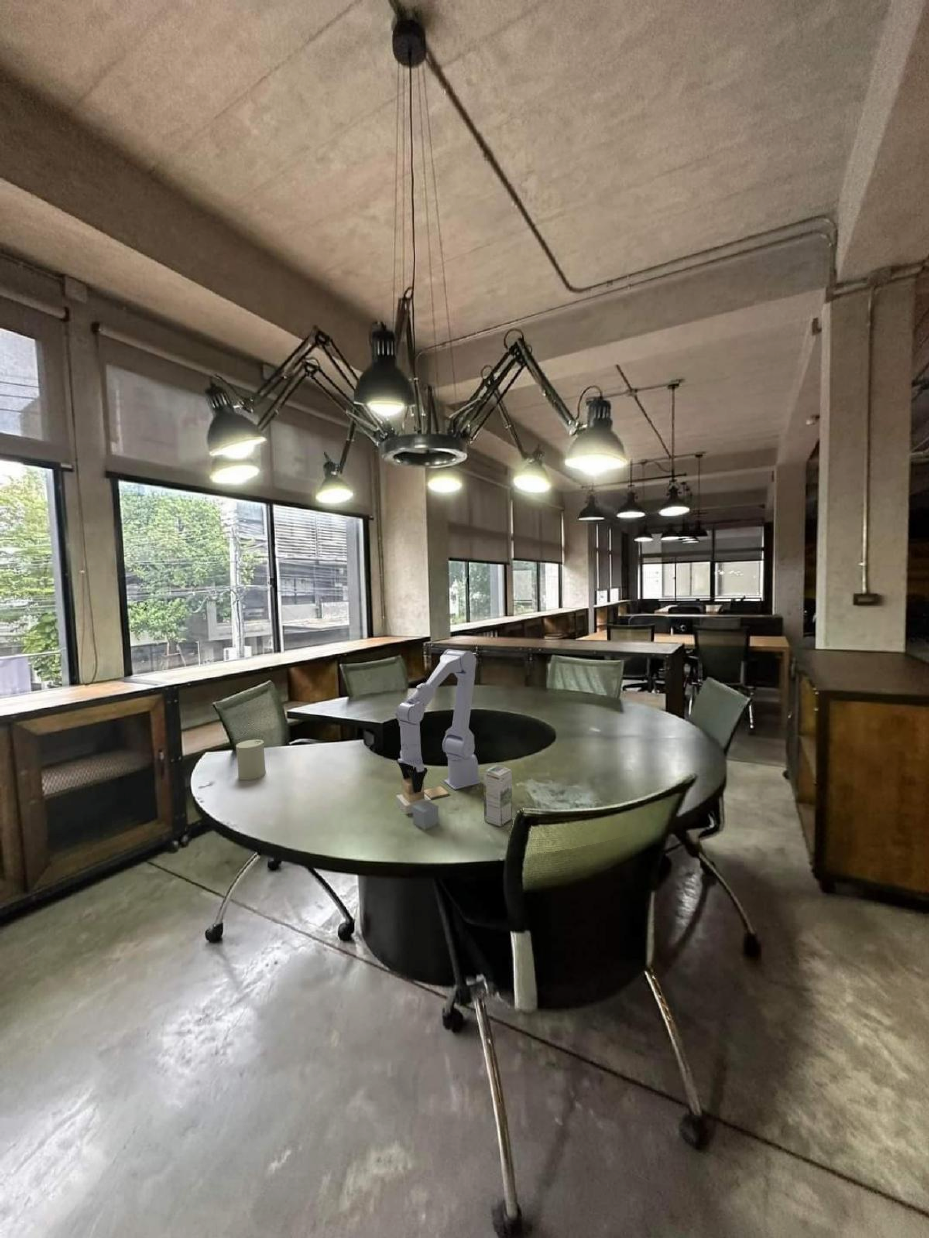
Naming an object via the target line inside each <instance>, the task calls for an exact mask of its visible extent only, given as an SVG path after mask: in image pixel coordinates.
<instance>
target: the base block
mask: <svg viewBox="0 0 929 1238" xmlns="http://www.w3.org/2000/svg"><path fill="white" fill-rule="evenodd" d="M424 797H425V798H423V799H420V800H416V801H412V802H408V801H407V800H406V799H405V798H404V797H403V796H402V793H401V794H396V795H395V799H396V800H395V802H396V805H397V807H398V808H400V809H401V811H402V812H403V813H404V814H405V815H408V814H409V815H410V814H413V806H415V805H417V804H420V803H422V802H425V801H429V802H431V803H432V800H431V799H430V798H429V797H428V796H427V795H426V794H425V793H424Z"/></svg>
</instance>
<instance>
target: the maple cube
mask: <svg viewBox="0 0 929 1238" xmlns="http://www.w3.org/2000/svg"><path fill="white" fill-rule="evenodd" d="M424 790H425V783H424V781H423V785H422V790H421V792H418V793H414V791H413V787H412V781H411V778H408V779H401V791H402V792H401V794H402V796H403V797H404V798H405V799H406V800H407V801H408V802H412V801H416V800H420V799H423V798H425V797H424Z"/></svg>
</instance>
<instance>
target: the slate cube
mask: <svg viewBox="0 0 929 1238" xmlns="http://www.w3.org/2000/svg"><path fill="white" fill-rule="evenodd" d="M412 819H413V823H412V824H413V825H415V826H416V827H419V828H421V829H422V830H424V831H425V830H428V829H429V828H431V827H434V826H436V825H439V822H440V821H439V819H440V818H439V806H438V805H436V804H434V803H433V802H432V801H431V802H429V801H425V802H422V803H420V804H417V805H415V806H413V813H412Z"/></svg>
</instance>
